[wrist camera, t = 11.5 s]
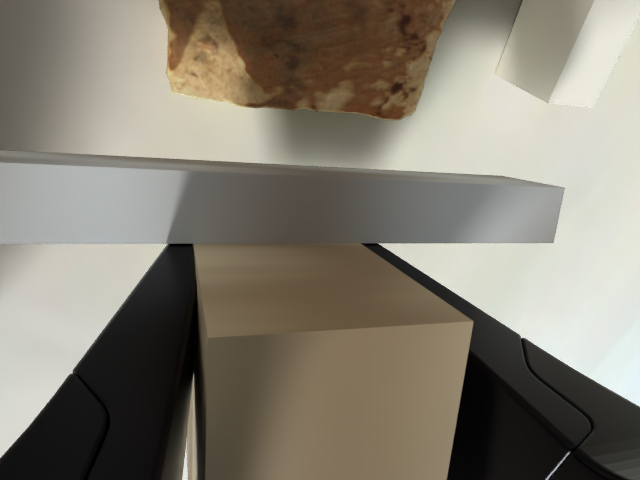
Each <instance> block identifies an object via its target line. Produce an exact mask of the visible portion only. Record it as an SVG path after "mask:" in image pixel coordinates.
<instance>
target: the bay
mask: <svg viewBox="0 0 640 480" xmlns="http://www.w3.org/2000/svg"><path fill="white" fill-rule="evenodd" d="M639 16H640V0H523V2H522V4H521V7H520V9H519V12H518V15H517V17H516V20H515V23H514V25H513V28H512V31H511V33H510V36H509V39H508V41H507V44H506V47H505V49H504V52H503V54H502V57H501V60H500V62H499V65H498V68H497V70H496V73H495V75H496V76H498V77H500V78H502V79H504V80H506V81H508V82H509V83H511V84H513V85H515V86H517V87H519V88H521V89H522V90H524V91H526V92H528V93H530V94H532V95H534V96H536V97H537V98H539V99H541V100H543V101H545V102H547V103H552V104H560V105H569V106H578V107H587V108H593V106H594V104H595V102H596V100H597V98H598V96H599V94H600V93H601V91H602V89H603V87H604V85H605V83H606V81H607V79H608V77H609V75H610V73H611V71H612V69H613V67H614V65H615V63H616V61H617V59H618V57H619V55H620V53H621V52H622V50H623V48H624V46H625V44H626V42H627V40H628V38H629V36H630V34H631V32H632V30H633V28H634V26H635V24H636V22H637V20H638V18H639Z"/></svg>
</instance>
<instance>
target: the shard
mask: <svg viewBox="0 0 640 480" xmlns="http://www.w3.org/2000/svg"><path fill="white" fill-rule="evenodd" d="M455 1H456V0H159V6H160V10H161V12H162V14H163V17H164V19H165V21H166V24H167V28H168V62H167V69H166V74H167V77H168V79H169V82H170V86H171V90H172V92H173V93H174V94H182V95H186V96H189V97H192V98H200V99H212V100H215V101H222V102H229V103H232V104H235V105H238V106H241V107H250V108H275V109H287V110H298V109H310V110H314V111H327V112H340V113H356V114H364V115H367V116H369V117H372V118H379V119H384V120H401V119H403V118H405V117H408V116H411V115H412V114H413V113H414V112H415V110H416V107H417V104H418V101H419V99H420V96H421V93H422V90H423V86H424V81H425V77H426V74H427V72H428V69H429V64H430V61H431V60H432V56H433V52H434V48H435V44H436V42H437V39H438V37H439V36H440V34H441V31H442V28H443V25H444V22H445V20H446V18H447V17H448V15H449V14H450V12H451V10H452V8H453V6H454V3H455Z"/></svg>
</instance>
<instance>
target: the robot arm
mask: <svg viewBox="0 0 640 480" xmlns="http://www.w3.org/2000/svg"><path fill="white" fill-rule="evenodd" d="M361 244H362V245H364V246H365V247H367V248H368V249H369V250H371V251H372V252H374V253H375V254H377V255H378V256H380V257H381V258H383V259H384V260H385V261H387V262H388V263H390V264H391V265H393V266H394V267H396V268H397V269H398V270H400V271H401V272H403V273H404V274H406V275H407V276H409V277H410V278H412V279H413V280H414V281H416V282H417V283H419V284H420V285H422V286H423V287H425V288H426V289H427V290H429V291H430V292H432V293H433V294H435V295H436V296H438V297H439V298H441V299H442V300H443V301H445V302H446V303H448V304H449V305H451V306H452V307H454V308H455V309H456V310H458V311H459V312H461V313H462V314H464V315H465V316H467V317H468V318H470V319H471V320H472V321H474V322H473V328H472V334H471V340H470V346H469V352H468V357H467V363H466V369H465V375H464V381H463V387H462V393H461V399H460V404H459V410H458V416H457V422H456V428H455V434H454V440H453V446H452V451H451V457H450V463H449V469H448V475H447V480H640V407H639V406H637V405H636V404H634V403H632V402H630V401H629V400H627V399H625V398H623V397H622V396H620V395H618V394H616V393H614V392H613V391H611V390H609V389H607V388H606V387H604V386H602V385H600V384H599V383H597V382H595V381H594V380H592V379H590V378H588V377H587V376H585V375H583V374H581V373H580V372H578V371H576V370H575V369H573V368H571V367H569V366H568V365H566V364H565V363H563V362H561V361H560V360H558V359H557V358H555V357H553V356H552V355H550V354H549V353H547V352H545V351H544V350H542V349H541V348H539V347H538V346H536V345H534V344H533V343H531V342H530V341H528V340H527V339H525V338H521V336H520V335H519V334H517V333H516V332H514V331H513V330H511V329H510V328H508V327H506V326H505V325H503V324H502V323H500V322H499V321H497V320H496V319H494V318H493V317H491V316H489V315H488V314H486V313H485V312H483V311H482V310H480V309H479V308H477V307H475V306H474V305H472V304H471V303H469V302H468V301H466V300H465V299H463V298H461V297H460V296H458V295H457V294H455V293H454V292H452V291H451V290H449V289H447V288H446V287H444V286H443V285H441V284H440V283H438V282H437V281H435V280H434V279H432V278H430V277H429V276H427V275H426V274H424V273H423V272H421V271H420V270H418V269H416V268H415V267H413V266H412V265H410V264H409V263H407V262H406V261H404V260H402V259H401V258H399V257H398V256H396V255H395V254H393V253H392V252H390V251H389V250H387V249H385V248H384V247H382V246H381V245H379V244H378V243H361ZM196 297H197V282H196V270H195V258H194V247H193V244H167V246H166V247H165V248H164V250H163V251H162V252H161V254H160V255H159V256H158V258H157V259H156V260H155V262H154V263H153V264H152V266H151V267H150V268H149V270H148V271H147V272H146V274H145V275H144V276H143V278H142V279H141V280H140V282H139V283H138V284H137V286H136V287H135V288H134V290H133V291H132V292H131V294H130V295H129V296H128V298H127V299H126V300H125V302H124V303H123V304H122V306H121V307H120V308H119V310H118V311H117V312H116V314H115V315H114V316H113V318H112V319H111V320H110V322H109V323H108V324H107V326H106V327H105V328H104V330H103V331H102V332H101V334H100V335H99V336H98V338H97V339H96V340H95V342H94V343H93V344H92V346H91V347H90V348H89V350H88V351H87V352H86V354H85V355H84V356H83V358H82V359H81V360H80V362H79V363H78V364H77V366H76V367H75V368H74V370H73V374H70V375H69V376H68V377H67V378H66V380H65V381H64V382H63V384H62V385H61V386H60V388H59V389H58V391H57V392H56V393H55V395H54V396H53V397H52V398H51V400H50V401H49V402H48V403H47V405H46V406H45V407H44V408H43V410H42V411H41V412H40V413H39V415H38V416H37V417H36V418H35V420H34V421H33V422H32V423H31V424H30V426H29V427H28V428H27V429H26V430H25V431H24V433H23V434H22V435H21V436H20V437H19V438H18V439H17V440H16V441H15V443H14V444H13V445H12V446H11V447H10V448H9V449H8V450H7V451H6V453H5V454H4V455H3V456H2V457H1V458H0V480H182V475H183V466H184V457H185V448H186V439H187V430H188V421H189V412H190V403H191V393H192V384H193V375H194V351H195V324H196Z"/></svg>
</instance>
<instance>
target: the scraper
mask: <svg viewBox="0 0 640 480" xmlns="http://www.w3.org/2000/svg"><path fill="white" fill-rule="evenodd" d="M564 189H565V188H563V187H558V186H553V185H547V184H542V183H537V182H531V181H526V180H521V179H515V178H510V177H505V176H493V175H473V174H454V173H435V172H415V171H396V170H377V169H358V168H338V167H319V166H300V165H280V164H261V163H242V162H222V161H203V160H184V159H165V158H145V157H126V156H107V155H87V154H68V153H49V152H30V151H10V150H0V244H193V247H194V258H195V270H196V282H197V297H196V324H195V351H194V375H193V384H192V393H191V403H190V412H189V421H188V430H187V468H188V480H447V475H448V469H449V463H450V457H451V451H452V446H453V440H454V434H455V428H456V422H457V416H458V410H459V404H460V399H461V393H462V387H463V381H464V375H465V369H466V363H467V357H468V352H469V346H470V340H471V334H472V328H473V322H474V321H472V320H471V319H470V318H468V317H467V316H465V315H464V314H462V313H461V312H459V311H458V310H456V309H455V308H454V307H452V306H451V305H449V304H448V303H446V302H445V301H443V300H442V299H441V298H439V297H438V296H436V295H435V294H433V293H432V292H430V291H429V290H427V289H426V288H425V287H423V286H422V285H420V284H419V283H417V282H416V281H414V280H413V279H412V278H410V277H409V276H407V275H406V274H404V273H403V272H401V271H400V270H398V269H397V268H396V267H394V266H393V265H391V264H390V263H388V262H387V261H385V260H384V259H383V258H381V257H380V256H378V255H377V254H375V253H374V252H372V251H371V250H369V249H368V248H367V247H365V246H364V245H362V244H361V243H553V242H554V238H555V233H556V228H557V223H558V218H559V213H560V208H561V204H562V199H563V194H564Z"/></svg>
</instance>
